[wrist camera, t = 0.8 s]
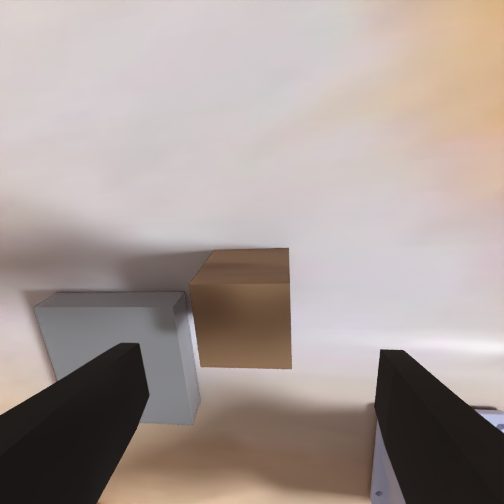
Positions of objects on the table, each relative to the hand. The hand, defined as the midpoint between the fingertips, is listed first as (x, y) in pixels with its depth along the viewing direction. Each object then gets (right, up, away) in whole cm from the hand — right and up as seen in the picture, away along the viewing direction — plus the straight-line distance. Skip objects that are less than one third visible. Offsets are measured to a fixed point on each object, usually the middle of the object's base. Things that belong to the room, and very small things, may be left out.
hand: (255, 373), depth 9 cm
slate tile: (-9, -3, +12) cm, 15 cm away
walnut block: (0, +2, +9) cm, 10 cm away
